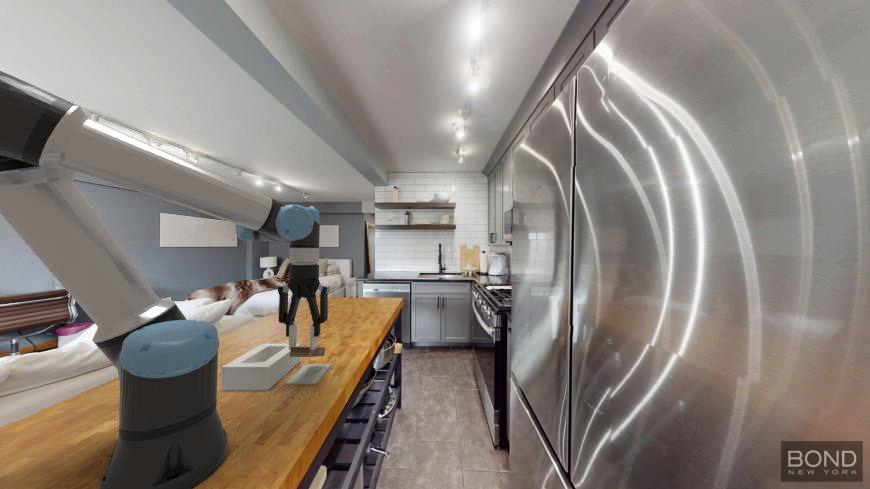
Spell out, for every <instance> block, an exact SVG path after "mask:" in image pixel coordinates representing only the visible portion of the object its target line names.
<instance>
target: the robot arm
mask: <svg viewBox="0 0 870 489" xmlns="http://www.w3.org/2000/svg"><path fill="white" fill-rule="evenodd" d="M79 172H80V173H82V174H84V175H88V176H91V177H93V178H97V179H100V180H103V181H106V182H108V183H112V184H115V185H118V186H121V187H125V188H127V189H130V190H133V191H136V192H139V193H142V194H145V195H148V196H150V197H154V198H157V199H161V200H163V201H166V202H169V203H172V204H174V205H178V206H180V207H184V208H187V209H191V210H193V211H196V212H199V213H201V214H202V213H203V214H204V215H209V216H211V217H213V218H217V219H221V220H223V221H226V222H230V223H231V224H232V223H233V224H235V232H236V236H237V238H238V239H239V240H241V241H249V242H285V243H289V252H288V254H289V257H288V259H289V260H288V262H289V263H291V264H290V265H289V267H288V269H289V270H288V279H289V280H288V283H287V284H285V285H280V286H278V287H277V292H278V298H279V299H278V300H279V301H278V323H280V324H284V325H285V336H286V337H287V338H288V344H289V350H291V347H296V344H297V328H298V327H297V326H298V325H297V324H298V323H296V320H295V319H296V316H297V313H298V312H297V311H298V308H299V305H300V301H301V300H302V298H304V299H306V301H307V304H308V308H309V311H310V315H311V320H312V323H311V325H309V326H310V327H309V328H310V333H309V334H310V336H309V338H310V339H309V347H310V350H313V349H315V348H316V347H318V337H319V336H320V335H321V325H322V324H324V323H325V322H327V321H328V318H329V317H328V316H329V313H328V311H329V310H328V309H329V302H328V301H329V298H328V296H329V295H328V294H329V291H330V289H331V287H330V285H324V284H321V281H320V280H319V278H320V265H319V264H318V263H319V262H320V232H321V231H320V227H321V220H320V217H321V216H320V212H319V210H318V209H316V208H313V207H310V206H309V207H307V206H303V205H300V204H295V203H294V204H292V203H291V204H286V203H284V202H281V201H279V200H278V199H274V198H272V197H270V196H268V195H265V194H262V193H261V192H258V191H256V190H254V189H252V188H250V187H247V186H244V185H242V184H239V183H238V182H235V181H233V180H231V179H228V178H226V177H225V176H224V177H223V176H222V175H219V174H217V173H214V172H212V171H211V170H208V169H206V168H203V167H201V166H199V165H196V164H194V163H192V162H190V161H187V160H185V159H182V158H180V157H178V156H175V155H173V154H171V153H170V152H168V151H165V150H162V149H160V148H157V147H155V146H153V145H151V144H148V143H146V142H144V141H141V140H139V139H137V138H134V137H133V136H130V135H128V134H125V133H123V132H121V131H119V130H116V129H114V128H112V127H110V126H108V125H105V124H103V123H100V122H98V121H96V120H93V119H91V118H90V117H89V116H88V115H87V114H86V112H85V111H84V109H83V108H82V106H80V105H77V104H75V103H74V102H71V101H69V100H67V99H64V98H62V97H61V96H58V95H56V94H53V93H51V92H49V91H47V90H45V89H42V88H41V87H37V86H35V85H33V84H31V83H29V82H26V81H25V80H22V79H21V78H18V77H16V76H14V75H11V74H9V73H6V72H5V71H2V70H0V216H2V217H3V218H4V220H5V221H6V222H7V223H8V224H9V225H10V227H12V229H13V231H15V232H16V234H17V235H18V236H19V237H20V238H21V240H23V241H24V242H25V244H26V245H27V247H29V249H31V251H32V252H33V253H34V254H35V255H36V257H37V258H38V259H39V260H40V261H41V263H43V265H44V266H45V267H46V268H47V270H49V272H50V273H51V274H52V276H54V278H55V279H56V280H57V281H58V282H59V284H61V286H62V287H63V288H64V289H65V290H66V292H67V293H68V294H69V295H70V296H71V297H72V298H73V300H74V301H75V302H76V303H77V304H78V306H80V308H81V309H82V310H83V312H84V313H85V314H86V315H87V316H88V317H89V319H90V320H91V321H92V322H93V323H94V324H95V325H96V327H97V329H96V331H95V333H94V335H93V337H92V342H93V343H94V344H95V346H97V347H98V348H99V350H100V351H101V353H103V355H105V357H106V358H107V359H108V360H109V361H110V362H111V364H112V365H113V366H114V367H115V368H116V369H117V374H118V379H119V418H118V420H119V421H118V422H119V424H118V439H117V442H116V445H115V448H114V449H113V452H112V455H110V459H109V461H108V465H107V468H106V470H105V471H104V473H103V475H102V477H101V479H100V482H99V485H98V489H193V488H194V487H196V486H197V485H198V484H200V483H201V482H203V481H204V480H206V479H207V478H208V477H209V476H210V475H212V474H213V473H214V472H215V471H216V470H217V469H218V468H219V467H220V465H222V463H224V460H225V458H227V454H228V450H229V449H228V447H229V446H228V445H229V444H228V443H229V442H228V441H229V440H228V439H229V438H228V433H227V432H226V430H225V429H224V427H223V424H222V422H221V418H220V415H219V413H218V410H217V409H218V408H217V402H218V401H217V398H218V397H217V396H218V365H219V364H218V360H219V348H220V339H219V332H218V329H217V327H216V326H215V325H214V324H212V323H210V322H209V321H205V320H196V319H187V318H186V316H185V315H184V313H183V312H182V310H181V309H180V308H179V307H178V305H177V303H176V302H175V301H173V300H168V299H167V300H166V299H162V298H159V296H158V295H157V294H156V292H155V291H154V289H153V288H152V287H151V285H150V284H149V283H148V282H147V280H146V278H144V276H143V274H142V273H141V272H140V271H139V268H138V267H137V265H135V263H134V262H133V261H132V260H131V258H130V257H129V256H128V254H127V253H126V251H125V250H124V249H123V247H122V246H121V245H120V243H119V241H118V240H117V239H116V238H115V236H114V235H113V234H112V232H111V231H110V230H109V228H108V227H107V224H105V223H104V222H103V220H102V218H100V216H99V214H97V212H96V211H95V209H94V208H93V205H91V204H90V202H89V201H88V199H86V197H85V196H84V194H83V193H82V191H81V190H80V189H79V187H78V186H77V185H76V183H75V182H74V179H75V177H76V176H77V174H78V173H79ZM318 290H319V293H320V295H319V306H318V302H317V295H316V292H317V291H318ZM289 292H291V293H292V294H291V298H290V305H289Z"/></svg>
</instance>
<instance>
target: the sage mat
mask: <svg viewBox="0 0 870 489" xmlns="http://www.w3.org/2000/svg"><path fill="white" fill-rule="evenodd" d="M330 366H331V367H332V364H331V363H329V364H328V363H326V364H323V363H321V364H317V363H311V364H310V363H309V364H308V363H306V364H304V365H303V366H302V367H301V368H300V369H299V370H298V371H296V373H294V374H293V375H292V376H291V377H290V378H289V379H288V380H287V381H286V382H285V385H286V386H287V385H288V386H289V385H292V386H293V385H300V386H301V385H303V386H304V385H306V386H307V385H317V383H318V382H320V380H321V379H322V378H323V376H324V375H325V374H326V373H327V371H328V370H330V368H331V367H330Z"/></svg>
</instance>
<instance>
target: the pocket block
mask: <svg viewBox="0 0 870 489" xmlns="http://www.w3.org/2000/svg"><path fill="white" fill-rule="evenodd" d="M301 344H302V343H296V347H302V345H301ZM290 351H291V350H289V343H261V344H260V345H258V346H256V347H254V348H253V349H251V350H249V351H247V352H246V353H244V354H242V355H240V356H239V357H237V358H235V359H233V360H231V361H230V362H228V363H226V364H224V365H222V366H221V377H220V378H221V379H220V380H221V381H220V391H269V390H271V388H273V386H275V385H276V384H277V383H278V382H280V380H282V379H283V378H284V377H285V376H286V375H287V374H288V373H290V372H291V371H292V370H293V369H294V368H295V367H296V366H297V365H296V364H298V363H299V362H300V363H301V357H290ZM300 363H299V364H300ZM299 364H298V365H299ZM295 365H296V366H295ZM294 366H295V367H294ZM293 367H294V368H293ZM292 368H293V369H292ZM291 369H292V370H291ZM290 370H291V371H290ZM289 371H290V372H289Z"/></svg>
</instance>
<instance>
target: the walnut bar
mask: <svg viewBox="0 0 870 489" xmlns="http://www.w3.org/2000/svg"><path fill="white" fill-rule="evenodd" d="M325 352H326V347H323V346H322V347H321V346H320V347H319V346H317V347H316V348H315V349H313V350H310V346H301V347H291V351H290V357H300V358H312V357H313V358H315V357H324V356H325V354H326V353H325Z"/></svg>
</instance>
